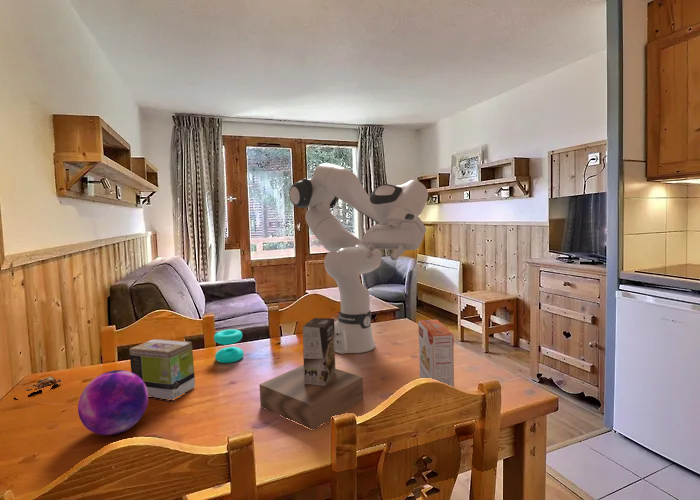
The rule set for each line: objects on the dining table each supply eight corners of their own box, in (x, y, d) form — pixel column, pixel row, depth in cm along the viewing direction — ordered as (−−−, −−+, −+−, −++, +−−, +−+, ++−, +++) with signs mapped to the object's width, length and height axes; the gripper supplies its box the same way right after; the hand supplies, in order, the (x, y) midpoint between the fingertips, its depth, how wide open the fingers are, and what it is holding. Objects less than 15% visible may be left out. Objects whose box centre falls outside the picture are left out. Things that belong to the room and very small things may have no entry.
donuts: (239, 326, 153) (245, 333, 144) (240, 352, 154) (246, 360, 146) (211, 331, 149) (216, 338, 140) (213, 357, 150) (218, 366, 141)
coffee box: (325, 386, 107) (324, 327, 105) (303, 384, 109) (301, 325, 107) (336, 373, 116) (335, 318, 114) (315, 371, 117) (313, 316, 116)
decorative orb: (135, 445, 94) (129, 383, 92) (67, 450, 93) (60, 387, 91) (159, 413, 109) (155, 359, 107) (101, 417, 108) (96, 362, 106)
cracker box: (418, 389, 118) (417, 319, 116) (438, 388, 119) (438, 318, 116) (432, 413, 104) (431, 334, 102) (455, 411, 105) (454, 333, 103)
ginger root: (9, 399, 121) (7, 388, 121) (50, 382, 132) (49, 372, 132) (24, 402, 119) (23, 391, 118) (65, 385, 130) (64, 375, 130)
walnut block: (260, 408, 111) (259, 384, 110) (312, 383, 126) (311, 361, 125) (312, 432, 98) (311, 405, 97) (363, 401, 113) (362, 377, 112)
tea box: (196, 387, 124) (193, 340, 123) (172, 402, 115) (168, 352, 113) (158, 382, 129) (154, 337, 128) (131, 396, 120) (127, 347, 118)
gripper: (369, 217, 131) (349, 250, 125) (422, 215, 116) (402, 252, 110) (378, 230, 134) (360, 263, 128) (431, 230, 120) (413, 266, 114)
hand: (380, 258), depth 119 cm, fingers open, 8 cm apart
